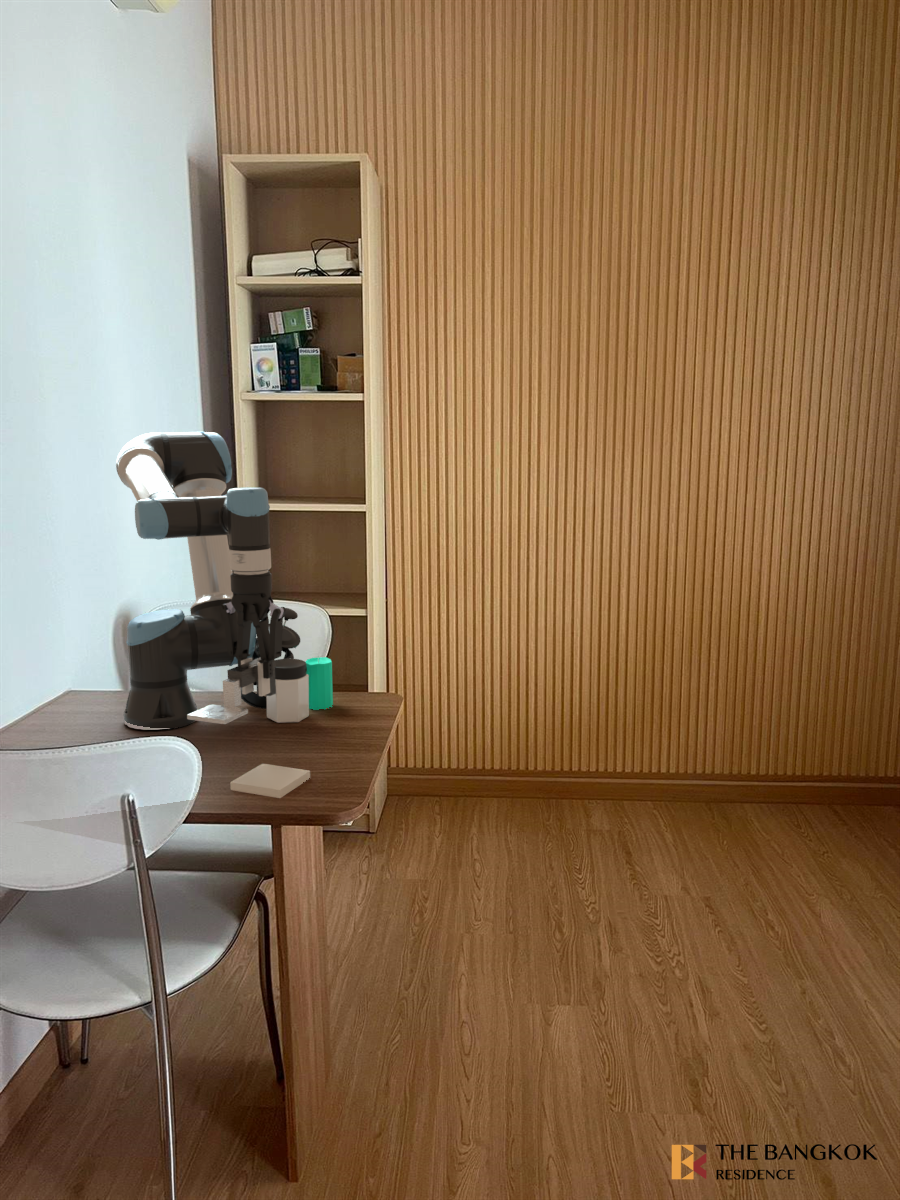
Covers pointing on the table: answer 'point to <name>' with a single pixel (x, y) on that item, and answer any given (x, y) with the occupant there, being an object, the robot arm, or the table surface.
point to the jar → (289, 692)
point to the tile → (270, 780)
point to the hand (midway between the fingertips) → (256, 693)
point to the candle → (320, 683)
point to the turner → (233, 694)
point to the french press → (288, 641)
